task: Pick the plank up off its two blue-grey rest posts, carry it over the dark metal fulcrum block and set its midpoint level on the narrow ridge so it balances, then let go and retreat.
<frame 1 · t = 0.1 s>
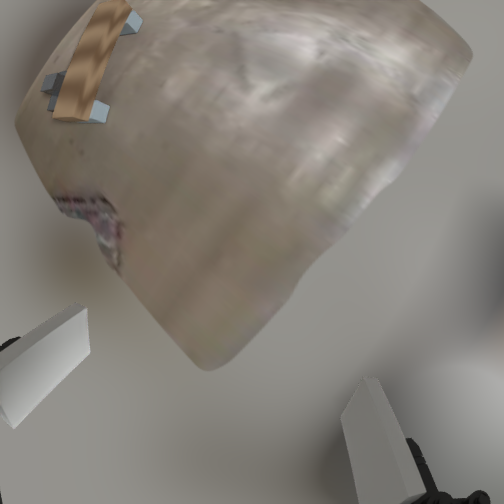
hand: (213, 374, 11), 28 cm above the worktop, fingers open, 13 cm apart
plank: (97, 60, 29), point 4 cm above the worktop, touching rest posts
rest posts: (109, 68, 33), on the worktop
fulcrum: (72, 91, 34), on the worktop
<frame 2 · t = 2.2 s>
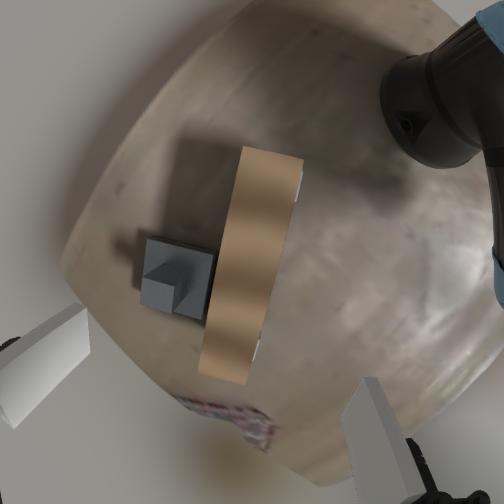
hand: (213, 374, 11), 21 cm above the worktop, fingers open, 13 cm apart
plank: (248, 269, 27), point 4 cm above the worktop, touching rest posts
fulcrum: (179, 275, 32), on the worktop
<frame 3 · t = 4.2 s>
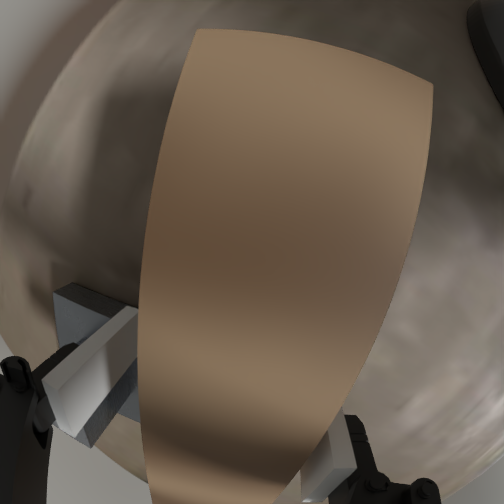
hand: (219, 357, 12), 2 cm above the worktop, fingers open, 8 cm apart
plank: (236, 387, 10), point 4 cm above the worktop, touching rest posts
fulcrum: (119, 353, 15), on the worktop
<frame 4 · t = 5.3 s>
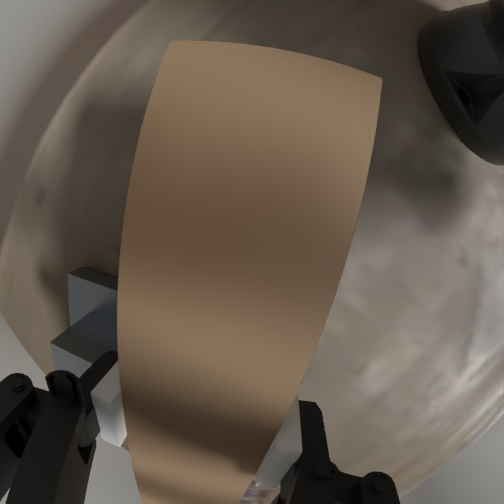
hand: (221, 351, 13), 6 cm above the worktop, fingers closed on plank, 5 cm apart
plank: (214, 370, 11), point 8 cm above the worktop, touching gripper
fulcrum: (120, 325, 19), on the worktop
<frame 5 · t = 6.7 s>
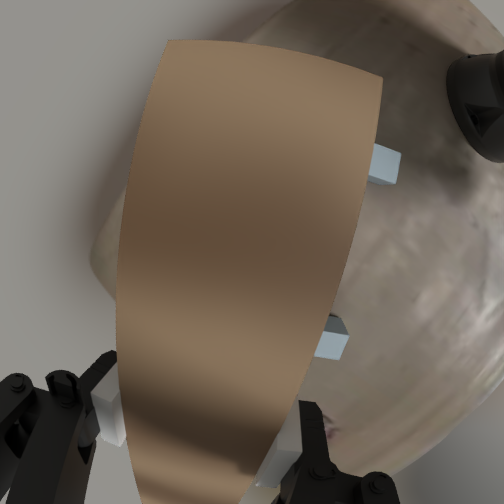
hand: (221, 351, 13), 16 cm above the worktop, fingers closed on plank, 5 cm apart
plank: (214, 371, 11), point 18 cm above the worktop, touching gripper
rest posts: (336, 247, 27), on the worktop
when the fingers open (5 cm above the worktop, at t = 8.3 s): plank stays where it is, resting on fulcrum.
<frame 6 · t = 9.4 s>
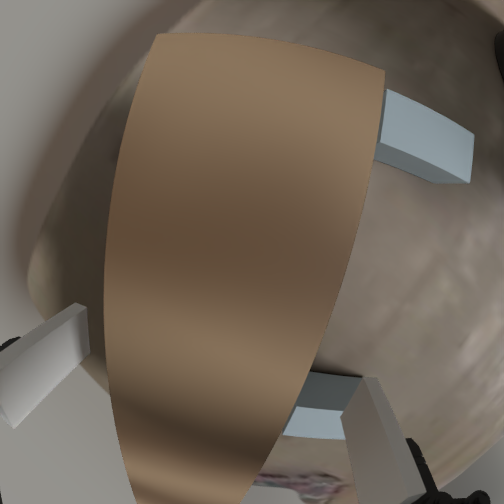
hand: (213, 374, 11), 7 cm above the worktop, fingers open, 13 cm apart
plank: (210, 377, 10), point 7 cm above the worktop, touching fulcrum
rest posts: (369, 281, 16), on the worktop
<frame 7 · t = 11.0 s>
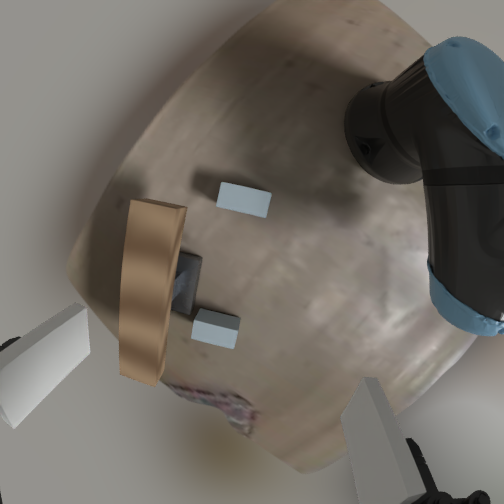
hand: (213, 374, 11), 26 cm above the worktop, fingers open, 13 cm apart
plank: (152, 294, 31), point 7 cm above the worktop, touching fulcrum
rest posts: (230, 264, 37), on the worktop
fulcrum: (171, 277, 38), on the worktop
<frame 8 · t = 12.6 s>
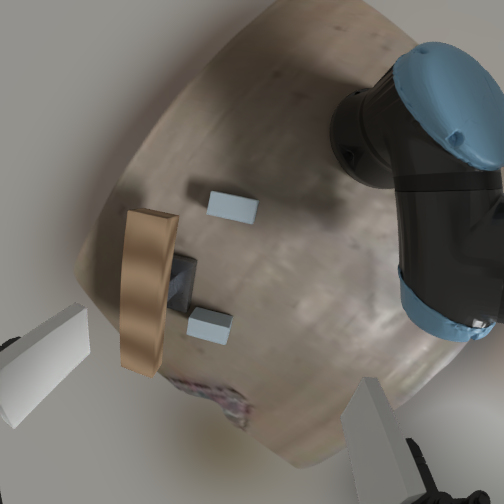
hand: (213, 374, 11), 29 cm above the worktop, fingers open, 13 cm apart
plank: (150, 293, 34), point 7 cm above the worktop, touching fulcrum
rest posts: (223, 266, 40), on the worktop
fulcrum: (169, 278, 41), on the worktop
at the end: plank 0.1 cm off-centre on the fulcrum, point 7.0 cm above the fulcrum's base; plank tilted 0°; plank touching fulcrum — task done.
